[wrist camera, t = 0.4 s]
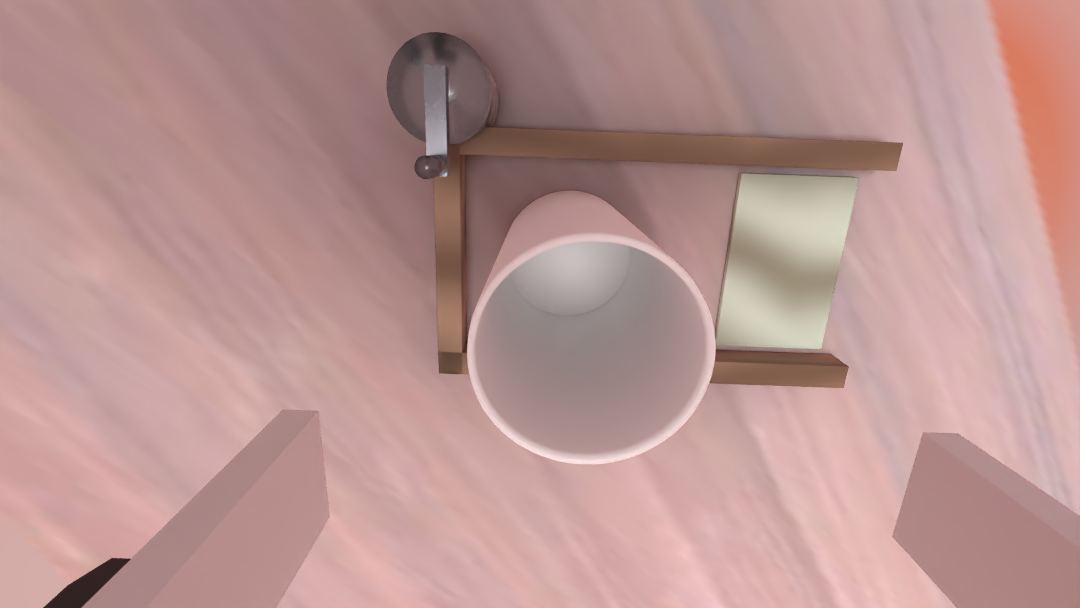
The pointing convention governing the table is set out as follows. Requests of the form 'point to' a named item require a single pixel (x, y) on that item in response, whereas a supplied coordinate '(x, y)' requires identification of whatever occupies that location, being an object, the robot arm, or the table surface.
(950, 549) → the robot arm
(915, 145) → the table surface
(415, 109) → the winch drum
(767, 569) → the table surface
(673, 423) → the cup
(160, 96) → the table surface
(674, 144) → the frame
